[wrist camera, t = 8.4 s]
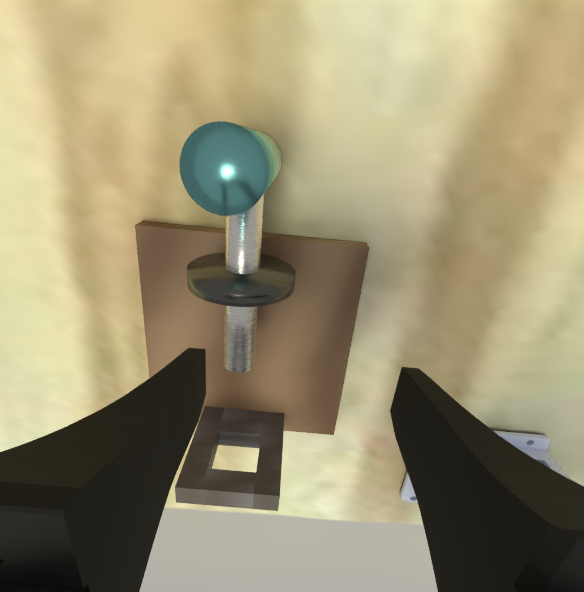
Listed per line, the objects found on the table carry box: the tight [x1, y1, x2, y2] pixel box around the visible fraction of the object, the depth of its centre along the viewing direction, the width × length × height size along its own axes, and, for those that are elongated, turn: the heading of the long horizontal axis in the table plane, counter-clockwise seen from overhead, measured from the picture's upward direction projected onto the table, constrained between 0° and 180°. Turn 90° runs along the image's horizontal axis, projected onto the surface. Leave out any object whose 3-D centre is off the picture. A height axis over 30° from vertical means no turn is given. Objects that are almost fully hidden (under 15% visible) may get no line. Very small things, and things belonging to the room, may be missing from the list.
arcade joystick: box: [180, 122, 296, 373], centre depth 15 cm, size 5×11×8 cm, turn 175°
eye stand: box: [135, 221, 369, 511], centre depth 19 cm, size 13×14×7 cm
